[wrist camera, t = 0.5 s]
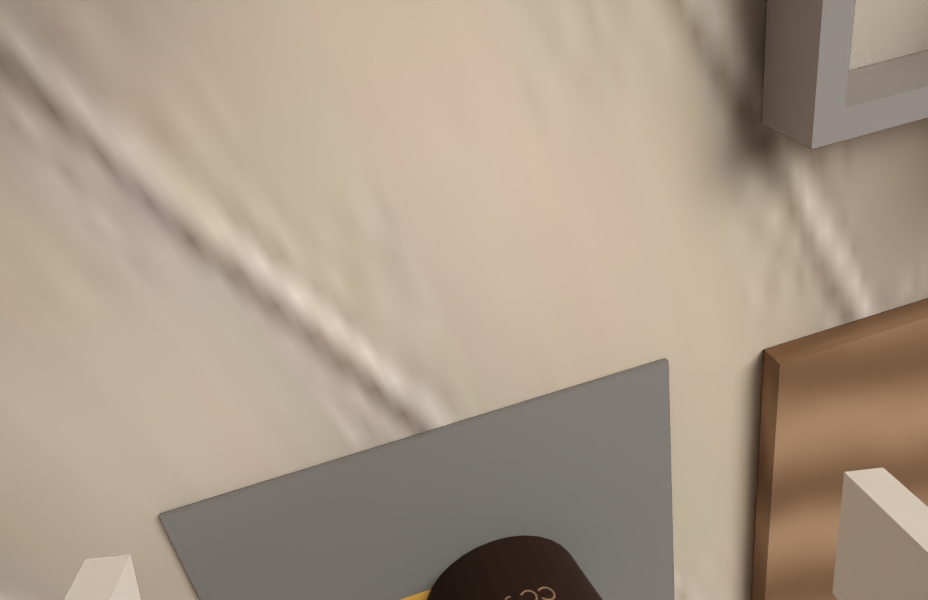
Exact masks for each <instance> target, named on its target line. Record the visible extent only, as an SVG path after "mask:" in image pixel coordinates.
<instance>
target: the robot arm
mask: <svg viewBox="0 0 928 600" xmlns="http://www.w3.org/2000/svg"><path fill="white" fill-rule="evenodd" d="M832 593H833V595H834V596H835V597H836V598H837V600H928V507H927V506H926V505H925V504H924V503H923V502H922V501H921V500H919V499H918V498H917V497H916V496H915V495H914V494H913V493H912V492H910V491H909V490H908V489H907V488H906V487H905V486H904V485H902V484H901V483H900V482H899V481H898V480H897V479H896V478H894V477H893V476H892V475H891V474H890V473H889V472H888V471H887V470H885V469H884V468H874V469H865V470H857V471H848V472H844V480H843V490H842V500H841V510H840V520H839V530H838V540H837V550H836V560H835V571H834V581H833V591H832ZM64 600H141V598H140V593H139V589H138V585H137V581H136V576H135V572H134V568H133V563H132V559H131V555H130V554H128V555H120V556H111V557H102V558H94V559H86V560H85V562H84V563H83V565H82V567H81V569H80V571H79V573H78V575H77V577H76V578H75V580H74V582H73V584H72V586H71V588H70V590H69V591H68V593H67V595H66V597H65V599H64Z"/></svg>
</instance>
